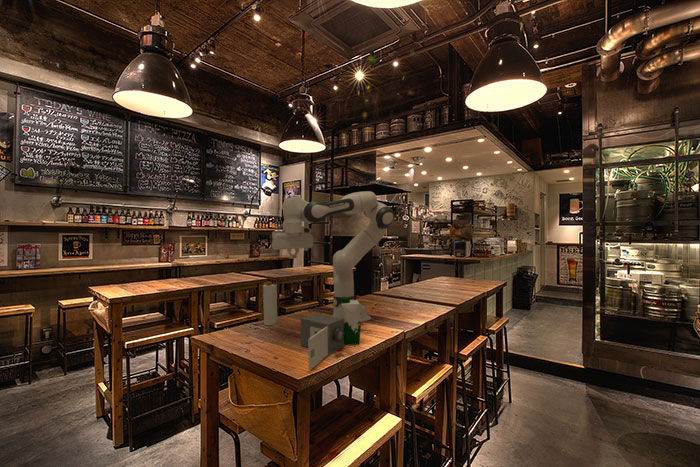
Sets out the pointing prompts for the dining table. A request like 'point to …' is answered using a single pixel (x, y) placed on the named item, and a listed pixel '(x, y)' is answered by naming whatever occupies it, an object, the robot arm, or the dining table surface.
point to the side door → (318, 347)
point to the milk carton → (350, 320)
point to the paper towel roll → (270, 304)
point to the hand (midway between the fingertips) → (293, 258)
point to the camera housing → (317, 323)
